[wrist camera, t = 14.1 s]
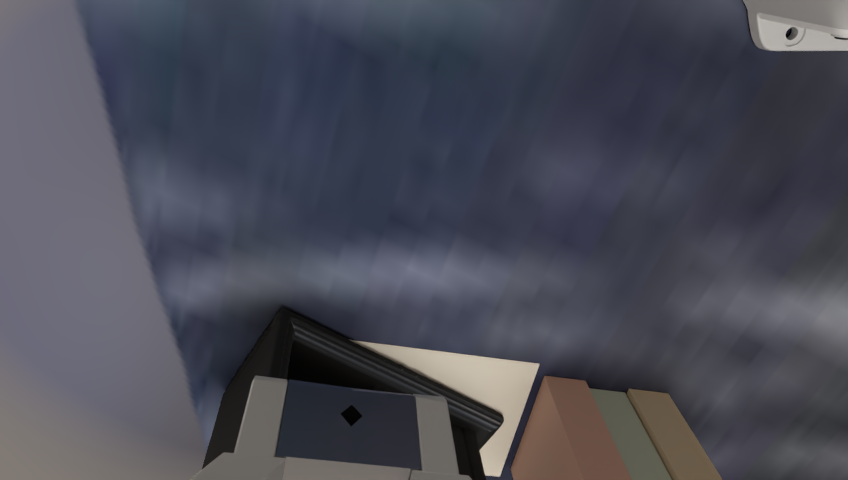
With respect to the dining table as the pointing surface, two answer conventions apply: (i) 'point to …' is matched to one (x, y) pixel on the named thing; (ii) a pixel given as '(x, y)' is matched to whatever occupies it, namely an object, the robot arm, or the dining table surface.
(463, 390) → the cream mat
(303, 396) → the robot arm
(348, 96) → the dining table surface
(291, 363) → the black drawer cabinet
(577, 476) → the book row
